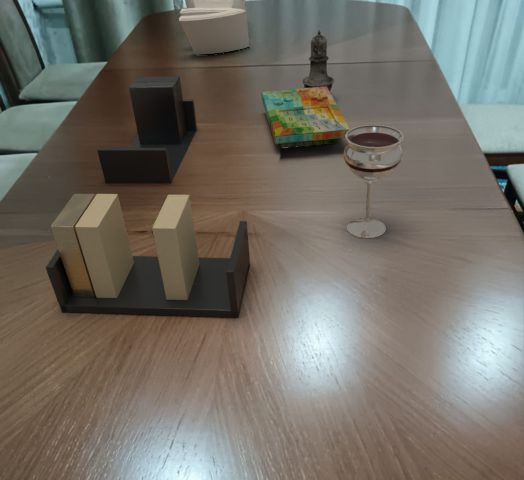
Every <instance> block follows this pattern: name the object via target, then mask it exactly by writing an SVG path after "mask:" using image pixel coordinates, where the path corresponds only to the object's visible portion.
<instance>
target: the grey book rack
mask: <svg viewBox="0 0 524 480" xmlns="http://www.w3.org/2000/svg"><path fill="white" fill-rule="evenodd" d="M128 91H129V96H130V101H131V107H132V111H133V116H134V121H135V126H136V132H137V135H136V136H135V138H134V139H133V141H132V143H131V144H130V146H129V147H98V148H97V150H96V151H97V155H98V160H99V164H100V168H101V172H102V175H103V180H104V182H105V184H138V185H139V184H143V185H145V184H147V185H148V184H149V185H150V184H151V185H153V184H154V185H155V184H157V185H161V184H162V185H171V184H172V183H173V181H174V179H175V177H176V174H177V173H178V170H179V168H180V166H181V164H182V162H183V160H184V158H185V156H186V154H187V152H188V150H189V148H190V146H191V143H192V142H193V139H194V137H195V135H196V133H197V132H198V124H197V117H196V116H197V115H196V108H195V100H194V99H193V98H191V99H190V98H189V99H188V98H184V97H183V91H182V83H181V77H180V75H179V76H178V75H176V76H175V75H173V76H170V75H169V76H168V75H167V76H165V75H164V76H137V77H135V79H134V80H133V82H132V83H131V84H130V85H129V87H128Z"/></svg>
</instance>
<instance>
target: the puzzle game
mask: <svg viewBox="0 0 524 480" xmlns="http://www.w3.org/2000/svg"><path fill="white" fill-rule="evenodd" d="M260 95H261V102H262V105H263V109H264V112H265V116H266V118H267V122H268V126H269V128H270V131H271V135H272V137H273V142H274V144H275V145H277V146H280V149H282V148H283V147H294V148H299V147H298V146H305V147H311V146H310V145H316V146H322V145H321V144H327V145H335V144H336V143H338V142H339V141H340V140H341V139H346V137H345V135H346V132H348V131H349V130H350V129H351V127H350V126H349V124H348V123H347V120H346V119H345V117H344V116H343V114H342V111H341V110H340V108H339V106H338V104H337V103H336V100H335V99H334V97H333V95H332V93H331V91H330V92H329V90H328V88H327V86H325V87H314V88H304V87H303V88H302V87H301V88H293V89H292V88H291V89H280V90H267V91H261V92H260ZM296 146H297V147H296ZM283 149H284V148H283Z"/></svg>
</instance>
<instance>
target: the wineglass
mask: <svg viewBox="0 0 524 480" xmlns="http://www.w3.org/2000/svg"><path fill="white" fill-rule="evenodd" d="M345 137H346V138H345V139H346V142H347V143H346V144H345V146H344V150H343V160H344V162H345V165H346V167H347V168H346V169H348V170H349V172H351V174H353V175H354V176H355V177H356V178H358V179H360V180H363V181H364V183H366V195H365V196H366V199H365V217H361V218H355V219H353V220H351V221H350V222H349V223H348V224H347V226H346V230H347V232H348V233H349V234H350V235H352V236H353V237H356V238H362V239H375V238H378V237H380V236H382V235H384V234H385V232H386V230H387V228H386V225H385V224H384V223H383V222H382V221H380V220H378V219H375V218H370V213H371V204H372V198H373V189H374V184H375V183H376V182H377V181H381V180H383V179H386V178H387V177H389V176H390V175H391V174H392V173H394V172H395V171H396V170H397V169H398V167H399V165H400V163H401V161H402V158H403V157H402V155H403V147H402V145H401V144H402V142H403V140H404V137H405V136H404V133H403V132H402V131H401V130H399V129H398V128H395V127H392V126H389V125H383V124H365V125H359V126H355V127H353V128H350V130H349V131H348V132H346V135H345Z"/></svg>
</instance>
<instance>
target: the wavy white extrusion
mask: <svg viewBox="0 0 524 480" xmlns="http://www.w3.org/2000/svg"><path fill="white" fill-rule="evenodd" d="M184 1H185V4H186V8H181V10H179V14H180V16H179V17H178V20H179V23H180V25H181V27H182V30H183V32H184V34H185V36H186V39H187V41H188V42H189V45H190V47H191V49H192V51H193V54H194V55H195V54H206V53H215V52H222V51H228V50H233V49H238V48H243V47H246V46H249V47H250V36H249V28H248V27H249V25H248V14H247V9H246V1H245V0H184Z"/></svg>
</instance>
